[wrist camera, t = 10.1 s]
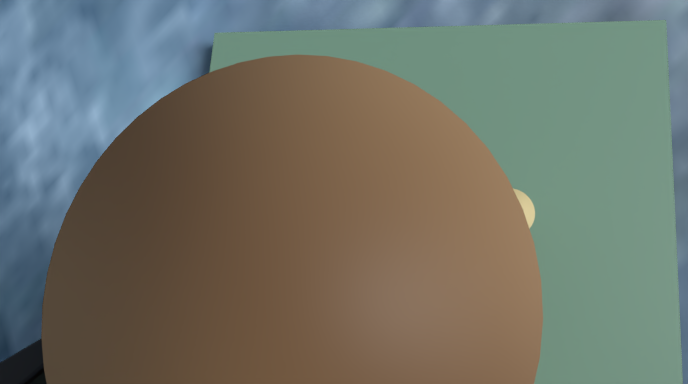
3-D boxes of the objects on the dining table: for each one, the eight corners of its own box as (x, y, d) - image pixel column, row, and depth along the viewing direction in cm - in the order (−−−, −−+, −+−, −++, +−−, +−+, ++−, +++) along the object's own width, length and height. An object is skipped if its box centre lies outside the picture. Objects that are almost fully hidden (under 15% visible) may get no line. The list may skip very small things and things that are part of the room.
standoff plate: (683, 706, 15) (749, 820, 12) (153, 597, 18) (85, 661, 15) (655, 34, 19) (698, -25, 16) (225, 45, 22) (184, -3, 19)
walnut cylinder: (426, 429, 17) (326, 738, 4) (299, 330, 18) (-44, 353, 6) (515, 292, 17) (658, 221, 5) (384, 207, 19) (228, -19, 6)
